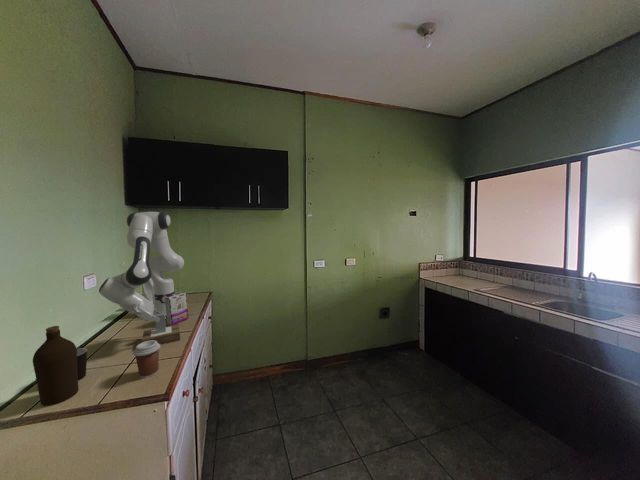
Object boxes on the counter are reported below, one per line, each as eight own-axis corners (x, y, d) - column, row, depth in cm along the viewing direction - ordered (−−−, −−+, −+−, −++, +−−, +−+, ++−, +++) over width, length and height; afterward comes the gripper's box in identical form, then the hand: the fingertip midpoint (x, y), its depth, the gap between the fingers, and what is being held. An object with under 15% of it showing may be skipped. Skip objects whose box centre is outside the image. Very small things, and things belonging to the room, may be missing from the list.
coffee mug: (95, 373, 103) (92, 349, 102) (68, 386, 95) (66, 361, 94) (75, 369, 107) (72, 346, 106) (48, 382, 98) (45, 357, 98)
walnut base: (144, 338, 134) (143, 330, 134) (179, 330, 142) (178, 323, 142) (142, 349, 122) (141, 340, 122) (180, 340, 131) (179, 332, 130)
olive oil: (60, 406, 84) (52, 333, 83) (28, 408, 84) (18, 335, 82) (89, 386, 95) (82, 320, 93) (60, 387, 95) (52, 322, 93)
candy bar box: (183, 317, 162) (181, 292, 161) (188, 318, 160) (186, 293, 159) (166, 324, 152) (164, 297, 151) (171, 325, 150) (169, 298, 149)
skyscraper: (141, 310, 179) (138, 271, 177) (144, 307, 186) (141, 269, 184) (155, 308, 182) (152, 270, 180) (158, 305, 189) (155, 268, 187)
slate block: (156, 330, 133) (155, 314, 132) (165, 329, 135) (164, 312, 134) (156, 333, 129) (155, 316, 129) (165, 331, 131) (164, 314, 131)
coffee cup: (129, 380, 98) (126, 350, 97) (146, 366, 107) (144, 338, 106) (152, 380, 97) (149, 349, 96) (167, 366, 106) (165, 338, 106)
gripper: (137, 303, 118) (164, 318, 123) (141, 293, 135) (164, 307, 141) (126, 314, 116) (153, 330, 122) (131, 302, 133) (155, 316, 139)
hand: (159, 317), depth 131 cm, fingers open, 8 cm apart
